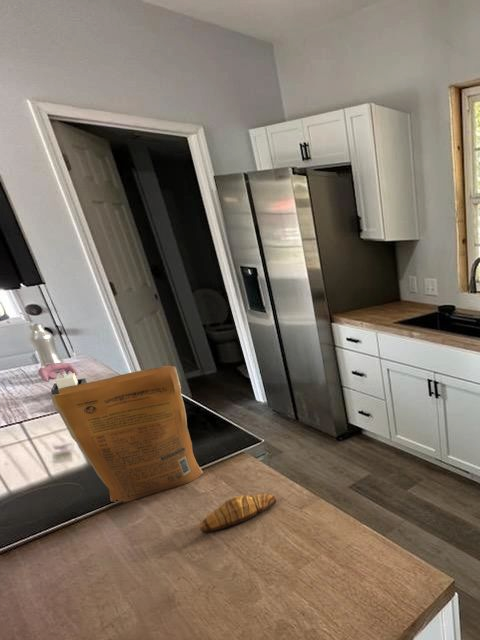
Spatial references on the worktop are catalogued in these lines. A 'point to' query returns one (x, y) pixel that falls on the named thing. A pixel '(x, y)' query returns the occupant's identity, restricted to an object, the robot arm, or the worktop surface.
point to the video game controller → (48, 370)
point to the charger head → (66, 380)
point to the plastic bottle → (44, 345)
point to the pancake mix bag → (132, 431)
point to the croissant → (237, 511)
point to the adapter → (56, 391)
